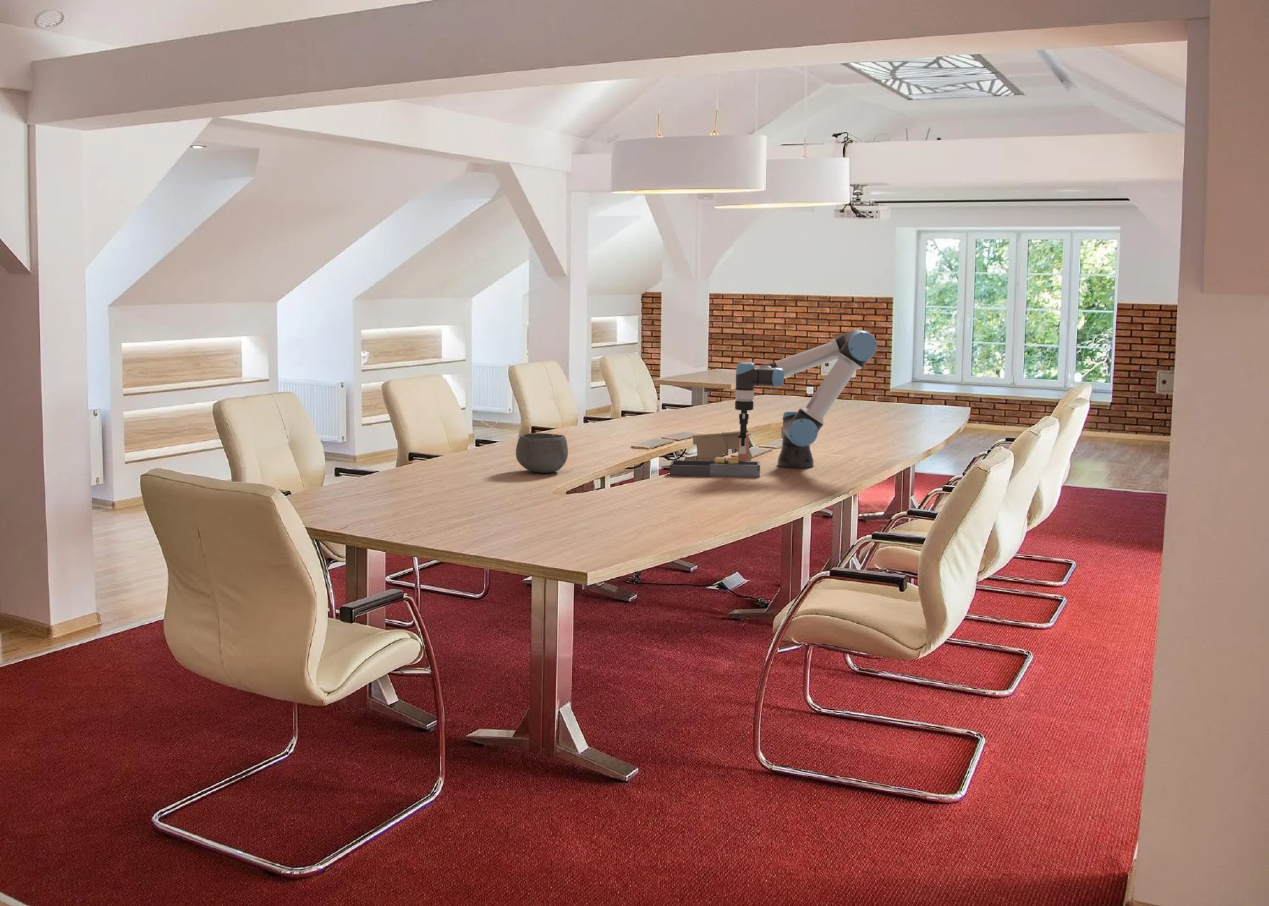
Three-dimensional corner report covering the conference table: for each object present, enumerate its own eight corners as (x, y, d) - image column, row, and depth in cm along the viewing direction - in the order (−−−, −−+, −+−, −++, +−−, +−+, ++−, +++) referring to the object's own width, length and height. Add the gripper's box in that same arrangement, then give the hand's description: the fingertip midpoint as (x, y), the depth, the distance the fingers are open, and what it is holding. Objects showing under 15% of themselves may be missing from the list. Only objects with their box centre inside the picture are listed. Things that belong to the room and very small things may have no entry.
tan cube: (736, 467, 494) (737, 457, 493) (738, 469, 490) (738, 459, 489) (727, 467, 494) (727, 457, 493) (728, 469, 490) (728, 459, 489)
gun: (752, 465, 516) (750, 430, 514) (752, 466, 513) (750, 431, 511) (695, 468, 519) (692, 434, 517) (695, 470, 516) (692, 435, 514)
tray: (711, 470, 501) (711, 460, 500) (709, 476, 487) (709, 466, 486) (672, 470, 502) (672, 459, 502) (669, 475, 488) (669, 465, 488)
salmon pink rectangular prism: (747, 469, 506) (748, 432, 504) (747, 471, 500) (748, 434, 497) (738, 468, 507) (738, 431, 505) (737, 471, 500) (738, 434, 498)
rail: (759, 472, 497) (760, 461, 496) (759, 477, 486) (760, 465, 486) (710, 471, 499) (711, 460, 498) (709, 475, 489) (709, 464, 488)
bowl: (506, 473, 490) (506, 436, 487) (532, 466, 508) (532, 430, 506) (552, 477, 481) (552, 440, 479) (577, 470, 500) (577, 434, 498)
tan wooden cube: (726, 467, 495) (726, 457, 494) (724, 468, 491) (724, 458, 490) (716, 466, 496) (716, 457, 495) (714, 468, 492) (714, 458, 491)
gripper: (735, 396, 512) (734, 446, 515) (734, 403, 487) (732, 455, 490) (753, 397, 511) (752, 447, 514) (753, 403, 486) (751, 456, 489)
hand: (742, 451), depth 502 cm, fingers open, 13 cm apart
